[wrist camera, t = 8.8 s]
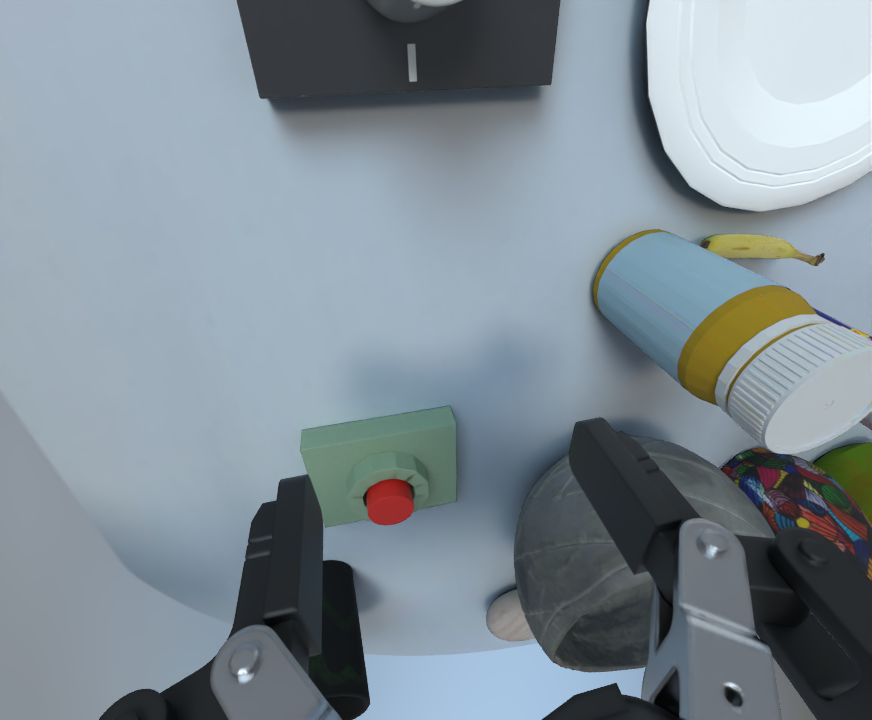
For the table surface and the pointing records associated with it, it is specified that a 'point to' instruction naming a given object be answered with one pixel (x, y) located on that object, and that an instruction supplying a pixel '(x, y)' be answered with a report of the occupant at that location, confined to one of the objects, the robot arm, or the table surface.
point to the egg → (803, 500)
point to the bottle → (737, 340)
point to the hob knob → (411, 9)
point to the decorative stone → (508, 618)
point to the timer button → (389, 502)
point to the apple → (852, 472)
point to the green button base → (381, 461)
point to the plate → (762, 96)
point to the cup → (340, 645)
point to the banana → (755, 247)
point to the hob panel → (397, 47)
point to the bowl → (605, 561)
